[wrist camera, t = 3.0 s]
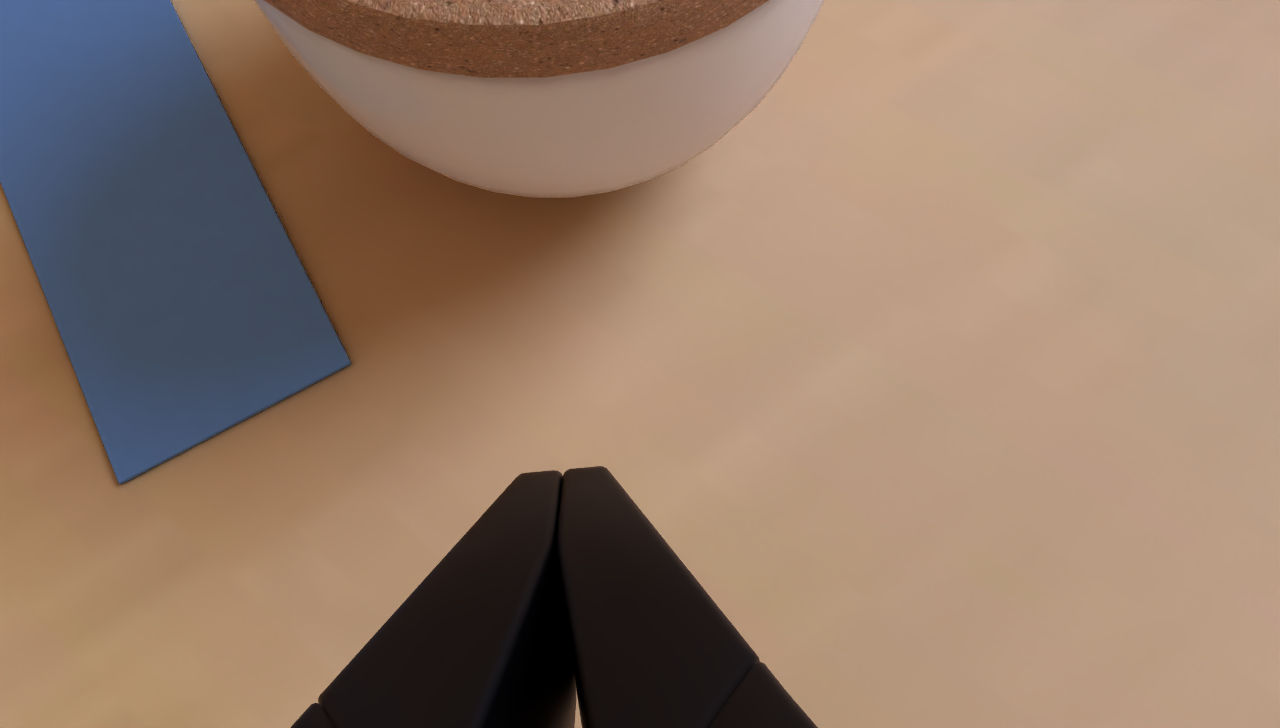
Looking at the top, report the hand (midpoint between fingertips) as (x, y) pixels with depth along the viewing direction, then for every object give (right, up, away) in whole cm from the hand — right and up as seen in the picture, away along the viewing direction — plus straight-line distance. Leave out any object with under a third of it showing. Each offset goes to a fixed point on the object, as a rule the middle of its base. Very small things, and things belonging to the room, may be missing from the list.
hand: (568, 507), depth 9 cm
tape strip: (-11, +6, +10) cm, 16 cm away
